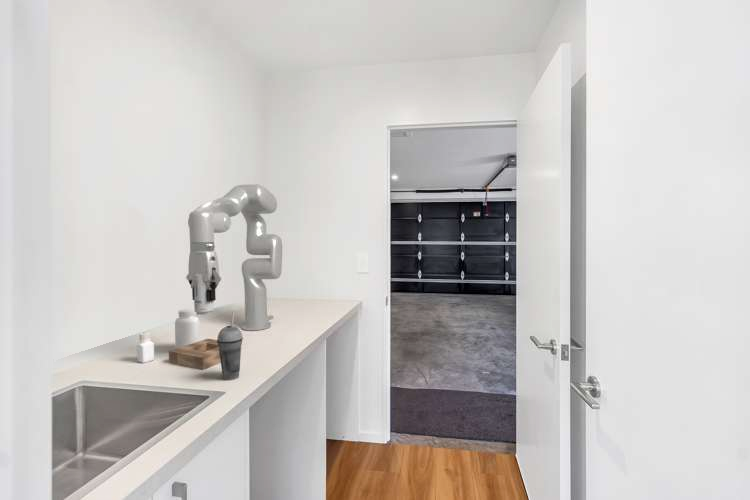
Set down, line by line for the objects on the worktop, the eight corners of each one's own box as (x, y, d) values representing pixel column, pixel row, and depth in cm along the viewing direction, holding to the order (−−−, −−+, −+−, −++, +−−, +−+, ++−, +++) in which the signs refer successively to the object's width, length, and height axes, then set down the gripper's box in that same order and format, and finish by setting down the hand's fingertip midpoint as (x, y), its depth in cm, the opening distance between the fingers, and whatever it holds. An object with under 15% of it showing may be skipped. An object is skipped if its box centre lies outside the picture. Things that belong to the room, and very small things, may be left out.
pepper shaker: (155, 360, 130) (154, 332, 130) (143, 363, 127) (142, 335, 126) (148, 358, 132) (147, 331, 132) (136, 361, 129) (135, 334, 128)
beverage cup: (217, 375, 116) (215, 310, 115) (243, 371, 119) (241, 308, 118) (218, 383, 110) (216, 315, 109) (244, 379, 112) (243, 312, 111)
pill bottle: (190, 354, 136) (188, 312, 136) (170, 353, 138) (169, 312, 137) (204, 347, 144) (203, 308, 143) (185, 346, 146) (184, 307, 145)
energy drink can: (192, 313, 131) (190, 269, 130) (209, 310, 135) (208, 268, 134) (198, 315, 126) (196, 270, 126) (216, 312, 131) (215, 269, 130)
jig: (208, 349, 142) (208, 338, 142) (240, 354, 135) (240, 343, 135) (169, 362, 128) (168, 351, 127) (203, 369, 121) (202, 357, 121)
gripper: (229, 247, 129) (231, 300, 130) (193, 247, 137) (195, 296, 138) (211, 248, 122) (213, 304, 123) (175, 248, 130) (177, 300, 131)
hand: (204, 299), depth 130 cm, fingers closed on energy drink can, 6 cm apart
